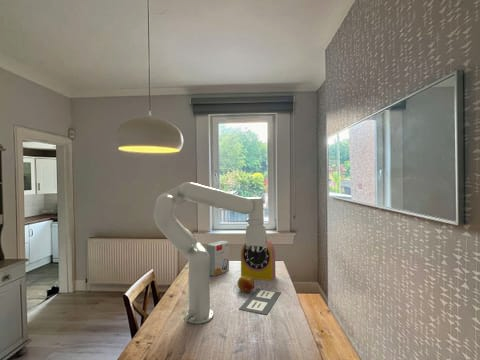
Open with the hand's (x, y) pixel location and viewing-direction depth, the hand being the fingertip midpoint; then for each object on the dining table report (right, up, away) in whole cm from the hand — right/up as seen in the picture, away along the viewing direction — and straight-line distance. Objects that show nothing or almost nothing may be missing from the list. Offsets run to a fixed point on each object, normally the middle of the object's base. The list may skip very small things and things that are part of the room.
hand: (256, 259), depth 128 cm
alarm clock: (+4, -24, +40) cm, 47 cm away
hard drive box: (-23, -24, +49) cm, 59 cm away
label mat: (+3, -23, +6) cm, 24 cm away
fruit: (-5, -24, +18) cm, 30 cm away
